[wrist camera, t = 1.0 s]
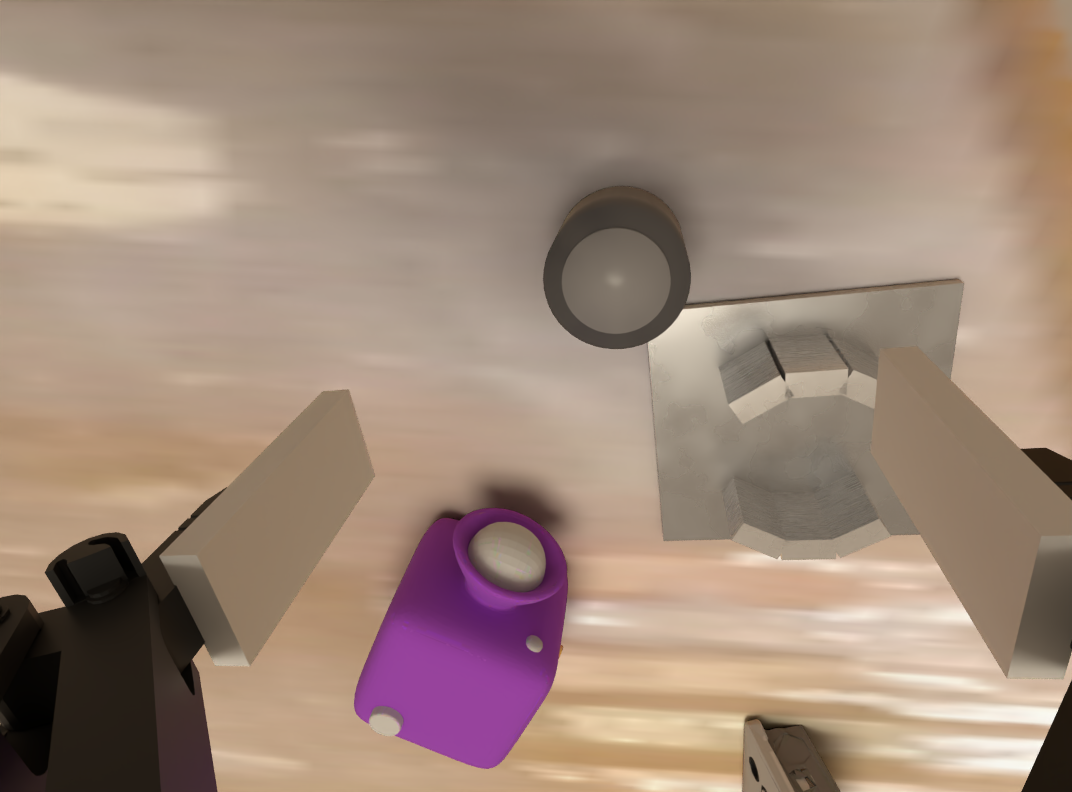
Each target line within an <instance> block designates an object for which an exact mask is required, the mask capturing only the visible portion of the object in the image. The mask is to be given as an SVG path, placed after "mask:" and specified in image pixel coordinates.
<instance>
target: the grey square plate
mask: <svg viewBox="0 0 1072 792" xmlns="http://www.w3.org/2000/svg"><path fill="white" fill-rule="evenodd" d="M963 288H964V282H962V281H961V280H959V279H954V280H943V281H933V282H922V283H912V284H901V285H891V286H880V287H870V288H859V289H849V290H838V291H828V292H817V293H807V294H796V295H786V296H775V297H765V298H754V299H744V300H734V301H723V302H713V303H702V304H692V305H684V307H683V310H682V311H681V313H680V315H679V316H678V318H677V319H676V320H675V321H674V323H673V324H672V325H671V326H670V327H669V328H668V329H667V330H666V331H665V332H663V333H662V334H661V335H659V336H658V337H656V338H655V339H653V340H651V341H649V342H648V353H649V365H650V378H651V390H652V402H653V415H654V427H655V440H656V452H657V465H658V477H659V490H660V502H661V514H662V527H663V539H664V541H679V540H719V539H731V540H732V541H734V542H737V543H739V544H742V545H744V546H746V547H749V548H751V549H754V550H756V551H759V552H761V553H763V554H766V555H768V556H771V557H773V558H776V559H778V557H779V556H781V559H782V560H808V559H836V552H837V554H838V555H839V557H840V558H842V557H844V556H846V555H849V554H851V553H853V552H856V551H858V550H860V549H863V548H865V547H867V546H870V545H872V544H874V543H877V542H879V541H881V540H884V539H886V538H889V537H891V535H920V533H919V532H918V530H917V528H916V527H915V525H914V523H913V522H912V520H911V518H910V517H909V515H908V513H907V512H906V510H905V509H904V507H903V505H902V504H901V502H900V500H899V499H898V497H897V495H896V494H895V492H894V490H893V489H892V487H891V485H890V484H889V482H888V480H887V479H886V477H885V475H884V474H883V472H882V470H881V469H880V467H879V465H878V464H877V462H876V460H875V459H874V457H873V455H872V454H871V442H872V431H873V419H874V408H875V397H876V386H877V375H878V364H879V353H880V349H885V348H898V347H911V346H917V347H918V348H919V349H920V350H921V351H922V352H923V353H924V354H925V355H926V356H927V357H928V358H929V359H930V360H931V361H932V362H933V363H934V364H935V365H936V366H937V367H938V368H939V369H940V370H941V371H942V372H943V373H944V374H945V375H946V376H947V377H948V378H949V379H951V372H952V365H953V358H954V351H955V344H956V337H957V330H958V323H959V316H960V309H961V302H962V295H963Z"/></svg>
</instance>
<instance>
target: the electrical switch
mask: <svg viewBox="0 0 1072 792" xmlns="http://www.w3.org/2000/svg"><path fill="white" fill-rule="evenodd" d="M800 769H805V770H803V771H801V770H800ZM805 778H808V779H809V780H810V781H811V782H812V783H813V785H814V787H812V788H810V786H809V785H808V783H807V781H806V779H805ZM743 792H840V790H839V788H838V786H837V785H836V783H835V781H834V780H833V778H832V776H831V774H830V773H829V771H828V769H827V768H826V766H825V764H824V762H823V761H822V759H821V757H820V756H819V754H818V752H817V750H816V749H815V747H814V745H813V744H812V742H811V740H810V738H809V737H808V735H807V733H806V732H805V730H804V728H803V726H802V725H798V726H793V727H788V728H775V729H772V730H764V728H763V726H762V724H761V722H760V721H759V720H757V719H755V720H751V721H747V722H746V723H745V728H744V762H743Z"/></svg>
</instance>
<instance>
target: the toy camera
mask: <svg viewBox="0 0 1072 792" xmlns="http://www.w3.org/2000/svg"><path fill="white" fill-rule="evenodd" d="M567 591H568V580H567V565H566V561H565V557H564V555H563V552H562V550H561V548H560V547H559V545H558V543H557V542H556V541H555V539H554V538H553V537H552V536H551V535H550V534H549V533H548V532H547V531H546V530H545V529H544V528H543V527H542V526H541V525H539V524H538V523H537V522H535V521H534V520H532V519H531V518H529V517H527V516H525V515H523V514H520V513H518V512H515V511H512V510H508V509H502V508H485V509H479V510H476V511H473V512H471V513H469V514H467V515H465V516H464V517H463V518H462V519H461V520H460V521H459V520H455V519H450V518H441V519H439V520H437V521H436V522H434V523H433V524H432V525H431V526H430V527H429V529H428V530H427V531H426V533H425V534H424V536H423V538H422V539H421V541H420V543H419V545H418V547H417V549H416V551H415V553H414V555H413V557H412V559H411V561H410V563H409V566H408V568H407V570H406V572H405V574H404V576H403V578H402V580H401V583H400V585H399V587H398V589H397V591H396V593H395V595H394V598H393V600H392V602H391V604H390V606H389V608H388V611H387V613H386V615H385V618H384V620H383V622H382V625H381V627H380V629H379V631H378V634H377V636H376V639H375V641H374V643H373V646H372V648H371V651H370V653H369V655H368V658H367V660H366V663H365V665H364V668H363V670H362V673H361V675H360V678H359V681H358V684H357V688H356V692H355V699H354V708H355V711H356V714H357V715H358V716H359V717H360V718H361V719H362V720H363V721H365V722H366V723H368V724H369V725H370V726H371V728H372V729H373V730H374V731H375V732H377V733H378V734H380V735H384V736H394V735H395V736H398V737H400V738H402V739H405V740H407V741H410V742H412V743H415V744H417V745H420V746H422V747H425V748H427V749H430V750H432V751H435V752H437V753H440V754H442V755H445V756H447V757H450V758H452V759H455V760H457V761H460V762H463V763H465V764H468V765H471V766H475V767H478V768H484V769H489V768H493V767H495V766H497V765H498V764H499V763H500V762H502V760H503V759H504V758H505V757H506V756H507V754H508V753H509V752H510V750H511V749H512V747H513V746H514V744H515V743H516V742H517V740H518V739H519V737H520V736H521V734H522V733H523V731H524V730H525V728H526V727H527V725H528V724H529V722H530V721H531V719H532V718H533V716H534V715H535V713H536V712H537V710H538V709H539V707H540V706H541V704H542V702H543V701H544V699H545V698H546V696H547V694H548V692H549V691H550V689H551V686H552V684H553V681H554V678H555V674H556V669H557V664H558V659H559V657H560V654H561V652H562V649H563V646H562V645H561V638H562V632H563V625H564V617H565V609H566V602H567Z"/></svg>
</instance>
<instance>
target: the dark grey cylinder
mask: <svg viewBox="0 0 1072 792" xmlns="http://www.w3.org/2000/svg"><path fill="white" fill-rule="evenodd" d="M543 282H544V291H545V295H546V299H547V302H548V305H549V307H550V309H551V311H552V313H553V315H554V316H555V318H556V319H557V320H558V322H559V323H560V324H561V325H562V326H563V327H564V328H565V329H566V330H567V331H568V332H569V333H570V334H572V335H573V336H575V337H576V338H578V339H579V340H581V341H583V342H585V343H588V344H591V345H593V346H597V347H601V348H608V349H624V348H631V347H635V346H639V345H642V344H644V343H647V342H649V341H651V340H653V339H655V338H656V337H658V336H659V335H661V334H662V333H663V332H665V331H666V330H667V329H668V328H669V327H670V326H671V325H672V324H673V323H674V321H675V320H676V319H677V318H678V316H679V315H680V313H681V311H682V310H683V307H684V305H685V303H686V301H687V297H688V294H689V289H690V282H691V272H690V264H689V260H688V256H687V252H686V248H685V244H684V240H683V236H682V232H681V228H680V225H679V223H678V221H677V219H676V217H675V215H674V214H673V212H672V211H671V210H670V208H669V207H668V206H667V205H666V204H665V203H664V202H663V201H662V200H661V199H659V198H658V197H656V196H655V195H653V194H651V193H649V192H648V191H645V190H642V189H639V188H635V187H630V186H614V187H608V188H604V189H601V190H598V191H596V192H594V193H592V194H590V195H588V196H587V197H585V198H584V199H582V200H581V201H580V202H579V203H578V204H576V205H575V207H574V208H573V209H572V210H571V211H570V212H569V214H568V216H567V217H566V219H565V220H564V222H563V224H562V226H561V228H560V230H559V232H558V234H557V236H556V238H555V240H554V242H553V244H552V246H551V248H550V250H549V252H548V255H547V258H546V261H545V267H544V276H543Z"/></svg>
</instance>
